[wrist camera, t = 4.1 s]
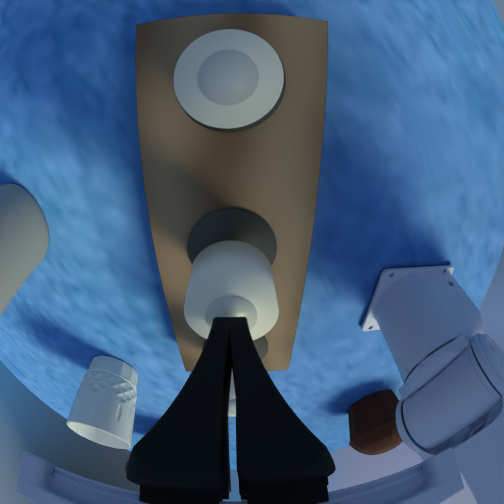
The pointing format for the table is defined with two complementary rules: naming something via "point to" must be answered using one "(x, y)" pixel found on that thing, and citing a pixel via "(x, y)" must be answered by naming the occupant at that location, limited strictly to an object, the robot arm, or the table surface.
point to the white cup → (106, 403)
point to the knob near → (228, 78)
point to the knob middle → (231, 288)
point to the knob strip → (233, 167)
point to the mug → (19, 239)
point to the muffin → (374, 423)
